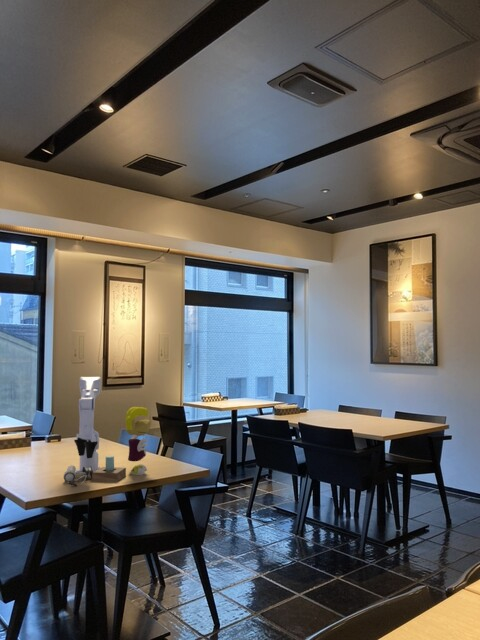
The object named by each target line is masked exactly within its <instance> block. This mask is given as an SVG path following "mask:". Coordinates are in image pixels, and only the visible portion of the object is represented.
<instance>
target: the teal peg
mask: <svg viewBox="0 0 480 640" xmlns="http://www.w3.org/2000/svg"><path fill="white" fill-rule="evenodd" d="M105 467H106V471H114V467H115V456H113V455H112V456H111V455H108V456H105Z"/></svg>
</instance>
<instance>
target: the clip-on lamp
mask: <svg viewBox="0 0 480 640" xmlns="http://www.w3.org/2000/svg"><path fill="white" fill-rule="evenodd" d="M76 470H77V467H76V466H75V465H73V464H70V465H69V466H68V467H67V468H66V471H65V472H64V474H63V480H64V481H65V482H66V483H67V484H68V485H70V486H73V487H79V486H82V484H83V483H84V482H85V481H88V480H89V476H90V480H91V481H92V472H94V471H93V470H92V467H91V466H90V468H85V467H83V470H82V471H80V472H76ZM89 470H90V472H89ZM77 475H80V477H79V478H77ZM83 477H85V478H84V480H83V481H82V482H81V483H80V484H79V485H78V484H77V483H74V481H77V482H78V481H79V480H81V479H82V478H83Z"/></svg>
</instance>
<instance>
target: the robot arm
mask: <svg viewBox="0 0 480 640" xmlns="http://www.w3.org/2000/svg"><path fill="white" fill-rule="evenodd" d="M78 383H79V387H78V388H79V393H80V398H79V400H78V412H79V413H78V414H79V424H78V425H79V431H78V432H79V433H76V436H75V437H76V439H74V443H75V445H76V450H77V453H78V456H79V468H78V469H76V472H80V471H82V470H83V467H85V468H90V466H91V467H92V470H93V472H94V471H96V470H98V469H100V468H101V467H100V466H99V452H98V451H97V450H99V448H100V433H99V432H98V431H96V430H95V429H94V424H95V423H94V422H95V421H94V420H95V405H96V403H95V401H96V398H97V397H98V396H99V395H100V393H101V389H102V388H101V387H102V378H101V377H100V376H80V377H79V382H78ZM89 472H90V470H89Z"/></svg>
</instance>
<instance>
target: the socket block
mask: <svg viewBox="0 0 480 640" xmlns="http://www.w3.org/2000/svg"><path fill="white" fill-rule="evenodd" d="M126 473H127V467H120V466H119V467H116V466H114V471H106V466H102V467H100V468H99V469H97V470H95V471H93V472H92V480H91V482H119V481H120V480H121V479H123V478H124V477H126V476H127V474H126Z"/></svg>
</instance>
